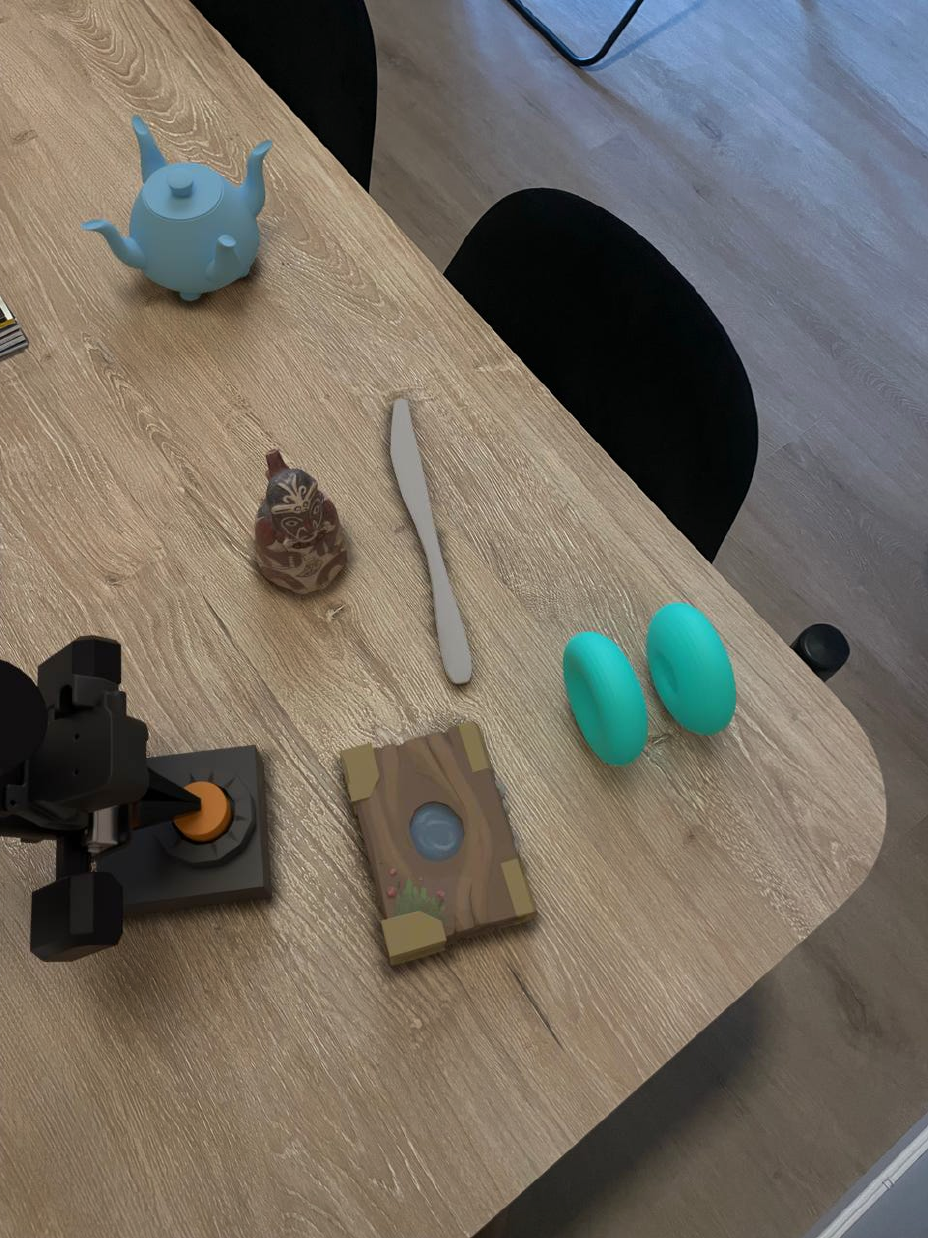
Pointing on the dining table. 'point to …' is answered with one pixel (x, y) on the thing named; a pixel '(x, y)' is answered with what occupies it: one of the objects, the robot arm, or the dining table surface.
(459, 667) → the butter knife
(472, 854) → the book
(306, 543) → the figurine
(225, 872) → the black button base
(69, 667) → the robot arm
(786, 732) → the dining table surface
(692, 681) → the donuts
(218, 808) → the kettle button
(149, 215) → the teapot
